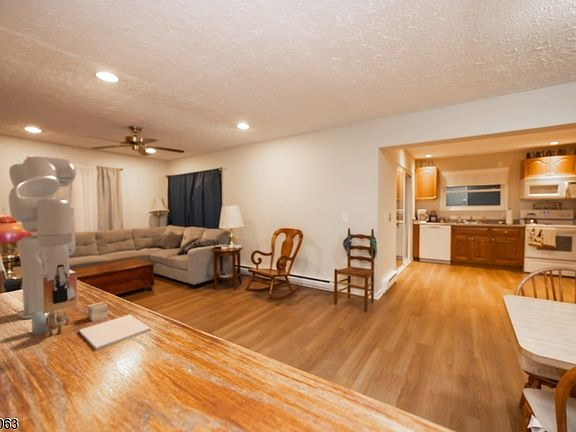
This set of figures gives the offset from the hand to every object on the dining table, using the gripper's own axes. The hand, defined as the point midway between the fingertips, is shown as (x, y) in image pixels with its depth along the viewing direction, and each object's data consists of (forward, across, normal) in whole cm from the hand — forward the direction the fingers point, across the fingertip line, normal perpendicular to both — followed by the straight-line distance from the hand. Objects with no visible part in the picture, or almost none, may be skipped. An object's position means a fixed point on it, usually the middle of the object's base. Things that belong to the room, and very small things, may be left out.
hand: (57, 299), depth 78 cm
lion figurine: (+16, -16, +3) cm, 23 cm away
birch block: (+16, -18, +15) cm, 29 cm away
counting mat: (+16, 0, +15) cm, 22 cm away
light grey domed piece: (+16, -20, -1) cm, 26 cm away
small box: (+3, 0, 0) cm, 3 cm away
